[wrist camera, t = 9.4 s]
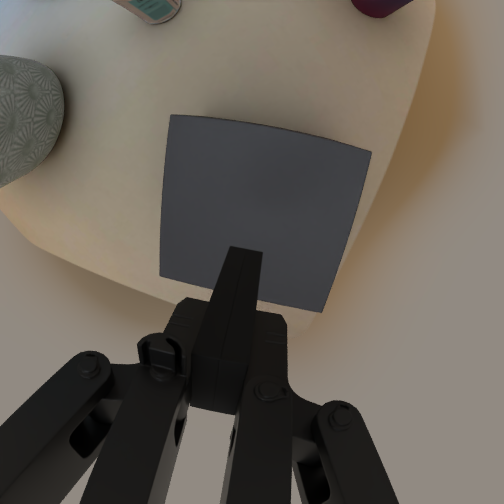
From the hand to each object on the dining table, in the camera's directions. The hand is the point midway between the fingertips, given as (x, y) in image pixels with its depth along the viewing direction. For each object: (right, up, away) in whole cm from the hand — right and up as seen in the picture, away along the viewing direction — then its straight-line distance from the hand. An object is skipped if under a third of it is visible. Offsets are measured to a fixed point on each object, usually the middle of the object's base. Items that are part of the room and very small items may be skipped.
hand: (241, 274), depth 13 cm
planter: (-28, +20, +13) cm, 37 cm away
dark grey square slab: (+1, +4, +8) cm, 9 cm away
